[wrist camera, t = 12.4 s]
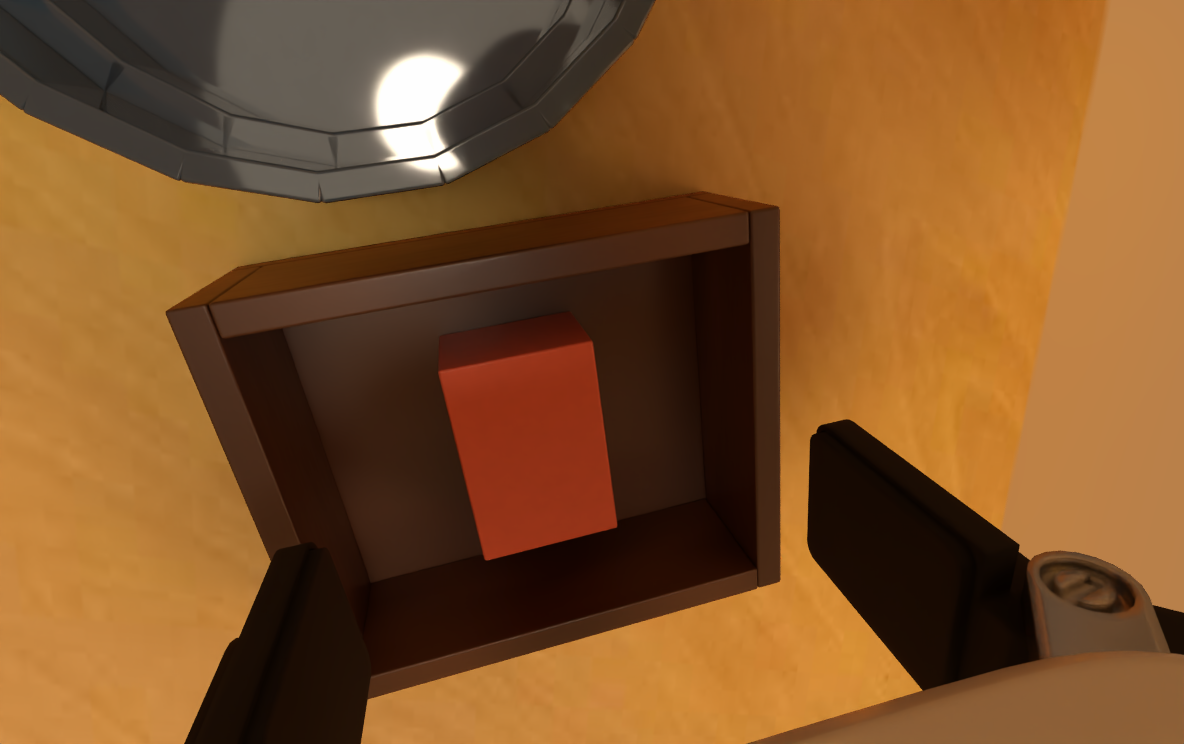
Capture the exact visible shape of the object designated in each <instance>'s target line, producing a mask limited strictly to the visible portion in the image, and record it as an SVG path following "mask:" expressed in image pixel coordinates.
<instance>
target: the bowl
mask: <svg viewBox="0 0 1184 744" xmlns="http://www.w3.org/2000/svg"><path fill="white" fill-rule="evenodd" d="M655 1H656V0H0V95H1V96H3V97H4V98H5V99H7V100H8V101H9V102H11V103H12V104H13V105H15V106H16V107H17V108H19V109H21V110H24V112H25V113H26V114H28V115H30V116H33V117H35V118H37V119H39V120H42V121H44V122H46V123H48V124H51V125H53V126H55V127H57V128H60V129H62V130H64V131H66V132H69V133H71V134H73V135H76V136H78V137H80V138H82V139H85V140H87V141H89V142H91V143H94V144H96V145H98V146H100V147H103V148H105V149H107V150H109V151H112V152H114V153H116V154H118V155H121V156H123V157H125V158H128V159H130V160H132V161H134V162H137V163H139V164H141V165H143V166H146V167H148V168H150V169H152V170H155V171H157V172H159V173H161V174H164V175H166V176H168V177H170V178H173V179H175V180H178V181H180V180H182V181H184V182H186V183H192V184H199V185H205V186H212V187H218V188H224V189H231V190H237V191H244V192H250V193H257V194H263V195H269V196H276V197H282V198H289V199H295V200H302V201H308V202H315V203H320V202H324V203H330V202H336V201H343V200H350V199H356V198H363V197H370V196H377V195H383V194H390V193H397V192H403V191H410V190H417V189H423V188H430V187H437V186H442V185H444V184H445V183H446V184H449V183H451V182H453V181H455V180H457V179H459V178H461V177H463V176H464V175H466V174H468V173H470V172H472V171H474V170H476V169H478V168H480V167H482V166H484V165H486V164H487V163H489V162H491V161H493V160H495V159H497V158H499V157H501V156H503V155H505V154H507V153H509V152H511V151H512V150H514V149H516V148H518V147H520V146H522V145H524V144H526V143H528V142H530V141H532V140H534V139H535V138H537V137H539V136H541V135H543V134H545V133H547V132H548V131H549V130H550V129H552V128H554V127H555V126H556V125H557V124H558V122H559V121H560V120H561V119H562V118H563V117H564V116H565V115H566V114H567V113H568V112H569V111H570V110H571V109H572V108H573V107H574V106H575V105H576V104H577V102H578V101H579V100H580V99H581V98H582V97H583V96H584V95H585V94H586V93H587V92H588V91H589V90H590V89H591V88H592V87H593V86H594V85H595V83H596V82H597V81H598V80H599V79H600V78H601V77H602V76H603V75H604V74H605V73H606V72H607V71H608V70H609V69H610V68H611V67H612V66H613V64H614V63H615V62H616V61H617V60H618V59H619V58H620V57H621V56H622V55H623V54H624V53H625V52H626V51H627V50H628V49H629V48H630V47H631V46H632V44H633V43H634V40H635V39H636V38H637V37H638V35H639V33H640V31H641V29H642V27H643V25H644V23H645V21H646V19H647V17H648V15H649V13H650V11H651V9H652V7H653V5H654V3H655Z"/></svg>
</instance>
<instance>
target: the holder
mask: <svg viewBox="0 0 1184 744" xmlns="http://www.w3.org/2000/svg"><path fill="white" fill-rule="evenodd" d="M568 311H570V312H571V313H572V314H573V316H574V317H575V318H576V320H577V321H578V322H579V324H580V325H581V327H582V328H583V329H584V331H585V332H586V333H587V335H588V336H589V337H590V339H591V340H592V342H593V347H594V354H595V362H596V369H597V377H598V384H599V391H600V399H601V406H602V414H603V421H604V429H605V436H606V444H607V451H608V459H609V466H610V474H611V481H612V489H613V496H614V504H615V511H616V519H617V527H616V528H613V529H609V530H605V531H601V532H597V533H593V534H589V535H585V536H581V537H577V538H574V539H570V540H566V541H562V542H558V543H554V544H550V545H546V546H542V547H538V548H534V549H530V550H526V551H523V552H519V553H515V554H511V555H507V556H503V557H499V558H495V559H491V560H485V559H484V556H483V552H482V548H481V544H480V540H479V536H478V532H477V528H476V524H475V520H474V516H473V512H472V508H471V504H470V500H469V496H468V492H467V488H466V484H465V479H464V475H463V471H462V467H461V463H460V459H459V455H458V451H457V447H456V443H455V439H454V435H453V431H452V427H451V423H450V419H449V415H448V411H447V407H446V403H445V399H444V395H443V391H442V387H441V383H440V379H439V375H438V358H439V337H440V336H442V335H447V334H452V333H458V332H463V331H468V330H473V329H479V328H484V327H489V326H494V325H500V324H505V323H510V322H515V321H521V320H526V319H531V318H536V317H542V316H547V315H552V314H557V313H563V312H568ZM166 316H167V318H168V320H169V323H170V325H171V327H172V330H173V332H174V335H175V337H176V339H177V342H178V344H179V346H180V349H181V351H182V353H183V356H184V358H185V360H186V363H187V365H188V367H189V370H190V372H191V374H192V377H193V379H194V382H195V384H196V386H197V389H198V391H199V393H200V396H201V398H202V400H203V403H204V405H205V407H206V410H207V412H208V414H209V417H210V419H211V421H212V424H213V426H214V428H215V431H216V433H217V436H218V438H219V440H220V443H221V445H222V447H223V450H224V452H225V454H226V457H227V459H228V461H229V464H230V466H231V468H232V471H233V473H234V475H235V478H236V480H237V483H238V485H239V487H240V490H241V492H242V494H243V497H244V499H245V501H246V504H247V506H248V508H249V511H250V513H251V515H252V518H253V520H254V522H255V525H256V527H257V530H258V532H259V534H260V537H261V539H262V541H263V544H264V546H265V548H266V551H267V553H268V555H269V558H270V560H271V561H272V558H273V556H274V554H275V552H276V551H277V550H279V549H282V548H286V547H291V546H295V545H299V544H304V543H308V542H313V543H315V545H316V546H317V548H318V549H319V548H323V547H325V548H327V549H328V550H329V552H330V555H331V557H332V560H333V562H334V565H335V567H336V570H337V573H338V575H339V578H340V580H341V583H342V586H343V588H344V591H345V593H346V596H347V599H348V601H349V604H350V606H351V609H352V611H353V614H354V617H355V619H356V622H357V624H358V627H359V630H360V632H361V635H362V637H363V640H364V643H365V645H366V648H367V650H368V653H369V656H370V661H371V679H370V686H369V692H368V699H370V698H374V697H377V696H381V695H384V694H388V693H391V692H395V691H399V690H402V689H406V688H409V687H413V686H416V685H420V684H423V683H427V682H430V681H434V680H437V679H441V678H444V677H448V676H451V675H455V674H458V673H462V672H465V671H469V670H472V669H476V668H480V667H483V666H487V665H490V664H494V663H497V662H501V661H504V660H508V659H511V658H515V657H518V656H522V655H525V654H529V653H532V652H536V651H539V650H543V649H546V648H550V647H553V646H557V645H560V644H564V643H568V642H571V641H575V640H578V639H582V638H585V637H589V636H592V635H596V634H599V633H603V632H606V631H610V630H613V629H617V628H620V627H624V626H627V625H631V624H634V623H638V622H641V621H645V620H648V619H652V618H656V617H659V616H663V615H666V614H670V613H673V612H677V611H680V610H684V609H687V608H691V607H694V606H698V605H701V604H705V603H708V602H712V601H715V600H719V599H722V598H726V597H729V596H733V595H737V594H740V593H744V592H747V591H751V590H754V589H757V586H758V587H763V586H767V585H770V584H774V583H777V582H779V581H780V209H779V207H778V206H774V205H769V204H764V203H758V202H753V201H748V200H743V199H738V198H733V197H728V196H723V195H718V194H713V193H709V192H704V191H702V192H696V193H689V194H683V195H677V196H671V197H665V198H659V199H653V200H646V201H640V202H634V203H628V204H622V205H616V206H610V207H603V208H597V209H591V210H585V211H579V212H573V213H567V214H560V215H554V216H548V217H542V218H536V219H530V220H524V221H517V222H511V223H505V224H499V225H493V226H487V227H480V228H474V229H468V230H462V231H456V232H450V233H444V234H437V235H431V236H425V237H419V238H413V239H407V240H401V241H394V242H388V243H382V244H376V245H370V246H364V247H358V248H351V249H345V250H339V251H333V252H327V253H321V254H315V255H308V256H302V257H296V258H290V259H284V260H278V261H272V262H265V263H259V264H253V265H247V266H241V267H237V268H235V269H234V270H232V271H230V272H229V273H227V274H225V275H224V276H222V277H220V278H219V279H217V280H216V281H214V282H212V283H211V284H209V285H207V286H206V287H204V288H203V289H201V290H199V291H198V292H196V293H194V294H193V295H191V296H190V297H188V298H186V299H185V300H183V301H182V302H180V303H178V304H177V305H175V306H173V307H172V308H170V309H169V310H167V311H166Z"/></svg>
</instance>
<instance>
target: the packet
mask: <svg viewBox="0 0 1184 744" xmlns="http://www.w3.org/2000/svg"><path fill="white" fill-rule="evenodd" d="M438 375H439V379H440V383H441V387H442V391H443V395H444V399H445V403H446V407H447V411H448V415H449V419H450V423H451V427H452V431H453V435H454V439H455V443H456V447H457V451H458V455H459V459H460V463H461V467H462V471H463V475H464V479H465V484H466V488H467V492H468V496H469V500H470V504H471V508H472V512H473V516H474V520H475V524H476V528H477V532H478V536H479V540H480V544H481V548H482V552H483V556H484V559H485V560H491V559H495V558H499V557H503V556H507V555H511V554H515V553H519V552H523V551H526V550H530V549H534V548H538V547H542V546H546V545H550V544H554V543H558V542H562V541H566V540H570V539H574V538H577V537H581V536H585V535H589V534H593V533H597V532H601V531H605V530H609V529H613V528H616V527H617V519H616V511H615V504H614V496H613V489H612V481H611V474H610V466H609V459H608V451H607V444H606V436H605V429H604V421H603V414H602V406H601V399H600V391H599V384H598V377H597V369H596V362H595V354H594V347H593V342H592V340H591V339H590V337H589V336H588V335H587V333H586V332H585V331H584V329H583V328H582V327H581V325H580V324H579V322H578V321H577V320H576V318H575V317H574V316H573V314H572V313H571V312H570V311H568V312H563V313H557V314H552V315H547V316H542V317H536V318H531V319H526V320H521V321H515V322H510V323H505V324H500V325H494V326H489V327H484V328H479V329H473V330H468V331H463V332H458V333H452V334H447V335H442V336H440V337H439V358H438Z"/></svg>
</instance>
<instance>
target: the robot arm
mask: <svg viewBox="0 0 1184 744" xmlns="http://www.w3.org/2000/svg"><path fill="white" fill-rule="evenodd" d="M807 542H808V547H809V550H810V553H811V555H812V557H813V558H814V560H815V561H816V562H817V563H818V565H819V566H820V567H821V568H822V569H823V571H824V572H825V573H826V574H827V575H828V577H829V578H830V579H831V580H832V582H833V583H834V584H835V585H836V586H837V588H838V589H839V590H840V591H841V592H842V594H843V595H844V596H845V597H846V598H847V600H848V601H849V602H850V603H851V604H852V606H853V607H854V608H855V609H856V610H857V612H858V613H859V614H860V615H861V616H862V618H863V619H864V620H865V621H866V622H867V624H868V625H869V626H870V627H871V628H872V630H873V631H874V632H875V633H876V635H877V636H878V637H879V638H880V639H881V641H882V642H883V643H884V644H885V645H886V647H887V648H888V649H889V650H890V651H891V653H892V654H893V655H894V656H895V657H896V659H897V660H898V661H899V662H900V663H901V665H902V666H903V667H904V668H905V669H906V671H907V672H908V673H909V674H910V675H911V677H912V678H913V679H914V680H915V682H916V683H917V684H918V685H919V686H920V688H921V689H922V690H923V691H920V692H917V693H914V694H910V695H907V696H904V697H900V698H897V699H894V700H890V701H887V702H884V703H880V704H877V705H874V706H870V707H867V708H864V709H860V710H857V711H854V712H850V713H847V714H844V715H840V716H837V717H834V718H830V719H827V720H824V721H820V722H817V723H814V724H810V725H807V726H804V727H800V728H797V729H794V730H790V731H787V732H784V733H780V734H777V735H774V736H771V737H767V738H764V739H761V740H757V741H754V742H751V743H748V744H1184V613H1182V612H1178V611H1174V610H1170V609H1166V608H1162V607H1158V606H1154V605H1152V603H1151V600H1150V598H1149V596H1148V594H1147V592H1146V591H1145V589H1144V588H1143V586H1142V585H1141V584H1140V583H1139V582H1138V581H1136V580H1135V579H1134V578H1133V577H1132V576H1131V575H1130V574H1128V573H1126V572H1125V571H1123V570H1121V569H1120V568H1118V567H1116V566H1115V565H1113V564H1110V563H1108V562H1106V561H1103V560H1101V559H1098V558H1096V557H1092V556H1088V555H1085V554H1081V553H1076V552H1067V551H1051V552H1044V553H1041V554H1039V555H1036V556H1034V557H1033V558H1032V559H1031V560H1029V559H1027V558H1026V557H1025V556H1023V555H1022V554H1021V553H1019V552H1018V551H1019V544H1018V543H1016V542H1015V541H1014V540H1012V539H1011V538H1009V537H1008V536H1007V535H1006V534H1004V533H1003V532H1002V531H1000V530H999V529H997V528H996V527H995V526H993V525H992V524H991V523H989V522H988V521H987V520H985V519H984V518H983V517H981V516H980V515H979V514H977V513H976V512H975V511H973V510H972V509H970V508H969V507H968V506H966V505H965V504H964V503H962V502H961V501H960V500H958V499H957V498H956V497H954V496H953V495H952V494H950V493H949V492H948V491H946V490H945V489H943V488H942V487H941V486H939V485H938V484H937V483H935V482H934V481H933V480H931V479H930V478H929V477H927V476H926V475H925V474H923V473H922V472H921V471H919V470H918V469H916V468H915V467H914V466H912V465H911V464H910V463H908V462H907V461H906V460H904V459H903V458H902V457H900V456H899V455H898V454H896V453H895V452H893V451H892V450H891V449H889V448H888V447H887V446H885V445H884V444H883V443H881V442H880V441H879V440H877V439H876V438H875V437H873V436H872V435H871V434H869V433H868V432H866V431H865V430H864V429H862V428H861V427H860V426H858V425H857V424H856V423H854V422H853V421H851V420H841V421H837V422H833V423H828V424H824V425H821V426H819V427H818V429H817V433H816V434H814V435H812V437H811V439H810V462H809V497H808V533H807ZM370 679H371V661H370V656H369V653H368V650H367V648H366V645H365V643H364V640H363V637H362V635H361V632H360V630H359V627H358V624H357V622H356V619H355V617H354V614H353V611H352V609H351V606H350V604H349V601H348V599H347V596H346V593H345V591H344V588H343V586H342V583H341V580H340V578H339V575H338V573H337V570H336V567H335V565H334V562H333V560H332V557H331V555H330V552H329V550H328V549H327V548H325V547H323V548H319V549H318V548H317V546H316V545H315V543H313V542H308V543H304V544H299V545H295V546H291V547H286V548H282V549H279V550H277V551H276V552H275V554H274V556H273V558H272V561H271V563H270V566H269V568H268V570H267V573H266V575H265V577H264V580H263V582H262V584H261V587H260V589H259V592H258V594H257V596H256V599H255V601H254V603H253V606H252V608H251V610H250V613H249V615H248V618H247V620H246V622H245V625H244V627H243V629H242V632H241V634H240V636H239V638H236V639H234V640H233V641H232V642H230V644H229V645H228V647H227V649H226V650H225V652H224V655H223V657H222V659H221V661H220V664H219V666H218V668H217V671H216V673H215V675H214V677H213V680H212V682H211V684H210V686H209V689H208V691H207V693H206V696H205V698H204V700H203V702H202V705H201V707H200V709H199V712H198V714H197V716H196V718H195V721H194V723H193V725H192V727H191V730H190V732H189V734H188V737H187V739H186V741H185V743H184V744H361V738H362V731H363V725H364V718H365V712H366V705H367V699H368V692H369V686H370Z"/></svg>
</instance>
